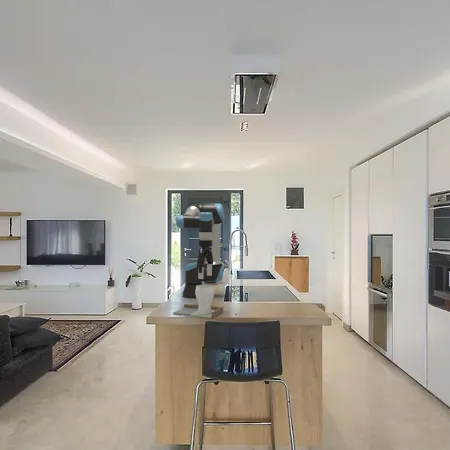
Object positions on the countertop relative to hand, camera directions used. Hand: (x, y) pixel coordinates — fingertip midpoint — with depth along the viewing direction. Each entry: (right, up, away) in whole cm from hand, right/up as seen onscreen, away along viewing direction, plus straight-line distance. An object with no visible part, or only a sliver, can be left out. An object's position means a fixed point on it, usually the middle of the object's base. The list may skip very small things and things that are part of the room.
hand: (205, 277), depth 242 cm
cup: (0, -20, -2) cm, 20 cm away
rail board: (-4, -21, +1) cm, 21 cm away
